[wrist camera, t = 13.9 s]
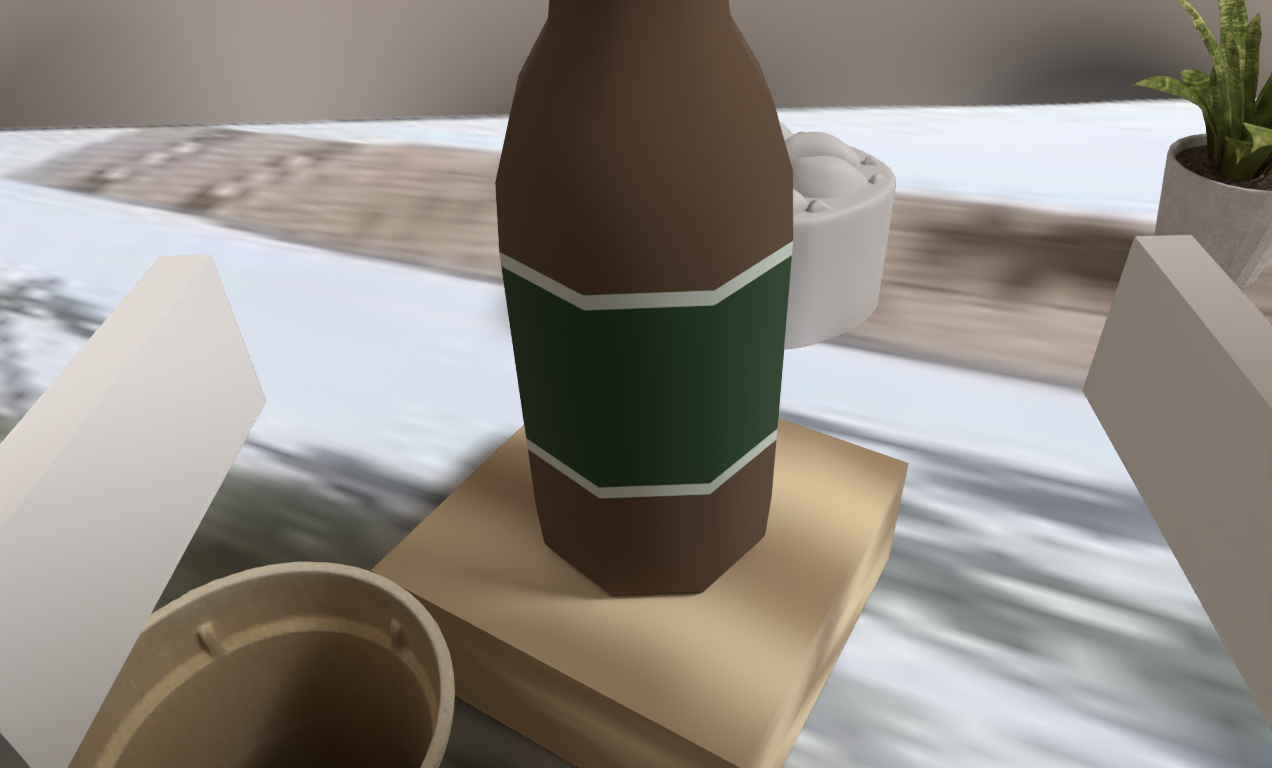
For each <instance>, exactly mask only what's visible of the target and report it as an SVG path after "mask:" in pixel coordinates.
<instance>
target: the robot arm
mask: <svg viewBox="0 0 1272 768" xmlns="http://www.w3.org/2000/svg"><path fill="white" fill-rule="evenodd" d="M1083 393H1084V394H1085V396H1086V398H1087V400H1088V401H1089V403H1090V405H1091V407H1092V409H1093V410H1094V412H1095V414H1096V416H1097V418H1098V419H1099V421H1100V423H1101V425H1102V427H1103V428H1104V430H1105V432H1106V434H1107V435H1108V437H1109V439H1110V441H1111V443H1112V444H1113V446H1114V448H1115V450H1116V452H1117V453H1118V455H1119V457H1120V459H1121V461H1122V462H1123V464H1124V466H1125V468H1126V470H1127V471H1128V473H1129V475H1130V477H1131V478H1132V480H1133V482H1134V484H1135V486H1136V487H1137V489H1138V491H1139V493H1140V495H1141V496H1142V498H1143V500H1144V502H1145V504H1146V505H1147V507H1148V509H1149V511H1150V513H1151V514H1152V516H1153V518H1154V520H1155V521H1156V523H1157V525H1158V527H1159V529H1160V530H1161V532H1162V534H1163V536H1164V538H1165V539H1166V541H1167V543H1168V545H1169V547H1170V548H1171V550H1172V552H1173V554H1174V556H1175V557H1176V559H1177V561H1178V563H1179V564H1180V566H1181V568H1182V570H1183V572H1184V573H1185V575H1186V577H1187V579H1188V581H1189V582H1190V584H1191V586H1192V588H1193V590H1194V591H1195V593H1196V595H1197V597H1198V599H1199V600H1200V602H1201V604H1202V606H1203V607H1204V609H1205V611H1206V613H1207V615H1208V616H1209V618H1210V620H1211V622H1212V624H1213V625H1214V627H1215V629H1216V631H1217V633H1218V634H1219V636H1220V638H1221V640H1222V642H1223V643H1224V645H1225V647H1226V649H1227V650H1228V652H1229V654H1230V656H1231V658H1232V659H1233V661H1234V663H1235V665H1236V667H1237V668H1238V670H1239V672H1240V674H1241V676H1242V677H1243V679H1244V681H1245V683H1246V685H1247V686H1248V688H1249V690H1250V692H1251V693H1252V695H1253V697H1254V699H1255V701H1256V702H1257V704H1258V706H1259V708H1260V710H1261V711H1262V713H1263V715H1264V717H1265V719H1266V720H1267V722H1268V724H1269V726H1270V728H1271V729H1272V324H1271V323H1270V322H1269V321H1268V320H1267V319H1266V318H1265V317H1264V315H1263V314H1262V313H1261V312H1260V311H1259V310H1258V309H1257V308H1256V306H1255V305H1254V304H1253V303H1252V302H1251V301H1250V300H1249V299H1248V298H1247V296H1246V295H1245V294H1244V293H1243V292H1242V291H1241V290H1240V289H1239V287H1238V286H1237V285H1236V284H1235V283H1234V282H1233V281H1232V280H1231V279H1230V277H1229V276H1228V275H1227V274H1226V273H1225V272H1224V271H1223V270H1222V268H1221V267H1220V266H1219V265H1218V264H1217V263H1216V262H1215V261H1214V260H1213V258H1212V257H1211V256H1210V255H1209V254H1208V253H1207V252H1206V251H1205V249H1204V248H1203V247H1202V246H1201V245H1200V244H1199V243H1198V242H1197V241H1196V239H1195V238H1194V237H1193V236H1192V235H1167V236H1135V237H1134V240H1133V243H1132V246H1131V249H1130V252H1129V255H1128V258H1127V261H1126V263H1125V266H1124V269H1123V272H1122V275H1121V278H1120V281H1119V284H1118V287H1117V290H1116V293H1115V296H1114V299H1113V302H1112V305H1111V308H1110V311H1109V314H1108V317H1107V320H1106V323H1105V326H1104V328H1103V331H1102V334H1101V337H1100V340H1099V343H1098V346H1097V349H1096V352H1095V355H1094V358H1093V361H1092V364H1091V367H1090V370H1089V373H1088V376H1087V379H1086V382H1085V385H1084V388H1083ZM265 402H266V398H265V396H264V393H263V391H262V388H261V385H260V383H259V380H258V377H257V375H256V372H255V369H254V367H253V364H252V362H251V359H250V356H249V354H248V351H247V348H246V346H245V343H244V340H243V338H242V335H241V332H240V330H239V327H238V325H237V322H236V319H235V317H234V314H233V311H232V309H231V306H230V303H229V301H228V298H227V296H226V293H225V290H224V288H223V285H222V282H221V280H220V277H219V274H218V272H217V269H216V267H215V264H214V261H213V259H212V256H211V255H186V256H160V257H159V258H158V259H157V260H156V261H155V262H154V264H153V265H152V266H151V267H150V268H149V270H148V271H147V272H146V273H145V274H144V275H143V277H142V278H141V279H140V280H139V281H138V282H137V284H136V285H135V286H134V287H133V288H132V290H131V291H130V292H129V293H128V294H127V295H126V297H125V298H124V299H123V300H122V301H121V303H120V304H119V305H118V306H117V307H116V308H115V310H114V311H113V312H112V313H111V314H110V315H109V317H108V318H107V319H106V320H105V321H104V323H103V324H102V325H101V326H100V327H99V328H98V330H97V331H96V332H95V333H94V334H93V336H92V337H91V338H90V339H89V340H88V341H87V343H86V344H85V345H84V346H83V347H82V348H81V350H80V351H79V352H78V353H77V354H76V356H75V357H74V358H73V359H72V360H71V361H70V363H69V364H68V365H67V366H66V367H65V369H64V370H63V371H62V372H61V373H60V374H59V376H58V377H57V378H56V379H55V380H54V381H53V383H52V384H51V385H50V386H49V387H48V389H47V390H46V391H45V392H44V393H43V394H42V396H41V397H40V398H39V399H38V400H37V401H36V403H35V404H34V405H33V406H32V407H31V409H30V410H29V411H28V412H27V413H26V414H25V416H24V417H23V418H22V419H21V420H20V422H19V423H18V424H17V425H16V426H15V427H14V429H13V430H12V431H11V432H10V433H9V434H8V436H7V437H6V438H5V439H4V440H3V442H2V443H1V444H0V768H68V766H69V764H70V762H71V760H72V759H73V757H74V755H75V753H76V751H77V749H78V747H79V746H80V744H81V742H82V740H83V738H84V736H85V735H86V733H87V731H88V729H89V727H90V725H91V724H92V722H93V720H94V718H95V716H96V714H97V712H98V711H99V709H100V707H101V705H102V703H103V701H104V700H105V698H106V696H107V694H108V692H109V690H110V688H111V687H112V685H113V683H114V681H115V679H116V677H117V676H118V674H119V672H120V670H121V668H122V666H123V664H124V663H125V661H126V659H127V657H128V655H129V653H130V652H131V650H132V648H133V646H134V644H135V642H136V640H137V639H138V637H139V635H140V633H141V631H142V629H143V628H144V626H145V624H146V622H147V620H148V618H149V616H150V615H151V613H152V611H153V609H154V607H155V605H156V604H157V602H158V600H159V598H160V596H161V594H162V592H163V591H164V589H165V587H166V585H167V583H168V581H169V580H170V578H171V576H172V574H173V572H174V570H175V568H176V567H177V565H178V563H179V561H180V559H181V557H182V556H183V554H184V552H185V550H186V548H187V546H188V544H189V543H190V541H191V539H192V537H193V535H194V533H195V532H196V530H197V528H198V526H199V524H200V522H201V520H202V519H203V517H204V515H205V513H206V511H207V509H208V508H209V506H210V504H211V502H212V500H213V498H214V496H215V495H216V493H217V491H218V489H219V487H220V485H221V484H222V482H223V480H224V478H225V476H226V474H227V472H228V471H229V469H230V467H231V465H232V463H233V461H234V460H235V458H236V456H237V454H238V452H239V450H240V449H241V447H242V445H243V443H244V441H245V439H246V437H247V436H248V434H249V432H250V430H251V428H252V426H253V425H254V423H255V421H256V419H257V417H258V415H259V413H260V412H261V410H262V408H263V406H264V404H265Z"/></svg>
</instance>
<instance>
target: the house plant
mask: <svg viewBox="0 0 1272 768" xmlns="http://www.w3.org/2000/svg"><path fill="white" fill-rule="evenodd" d="M1179 2H1180V3H1181V5H1182V6H1183V7H1184V8H1185V9H1186V10H1187V11H1188V13H1189V14H1190V15H1191V18H1192V20H1193V22H1194V25H1195V27H1196V29H1197V31H1198V33H1199V35H1200V37H1201V38H1202V40H1203V42H1204V43H1205V45H1206V47H1207V49H1208V51H1209V53H1210V55H1211V57H1212V60H1213V64H1214V67H1213V68H1212V71H1211V75H1210V76H1208V75H1207V74H1206V73H1203V72H1201V71H1198V70H1183V71H1182V72H1181V73H1180V75H1181V77H1182V79H1183V81H1184V82H1185V84H1186V85H1185V84H1183V83H1182V82H1180V81H1178V80H1176V79H1173V78H1171V77H1168V76H1155V77H1149V78H1146V79H1143V80H1141V81H1139V82H1136V83H1135V84H1133V85H1132V86H1134V85H1140V86H1144V87H1148V88H1153V89H1157V90H1161V91H1165V92H1169V93H1171V94H1174V95H1177V96H1180V97H1182V98H1184V99H1186V100H1189V101H1190V102H1192V103H1194V104H1196V105H1198V106H1199V107H1200V108H1201V110H1202V112H1203V117H1204V121H1205V125H1206V134H1199V135H1192V136H1188V137H1185V138H1182V139H1179V140H1178V141H1176V142H1175V143H1173V144H1172V145H1171V146H1170V148H1169V150H1168V154H1167V160H1166V166H1165V172H1164V179H1163V185H1162V191H1161V197H1160V204H1159V210H1158V216H1157V222H1156V229H1155V235H1154V236H1167V235H1192V236H1193V237H1194V238H1195V239H1196V241H1197V242H1198V243H1199V244H1200V245H1201V246H1202V247H1203V248H1204V249H1205V251H1206V252H1207V253H1208V254H1209V255H1210V256H1211V257H1212V258H1213V260H1214V261H1215V262H1216V263H1217V264H1218V265H1219V266H1220V267H1221V268H1222V270H1223V271H1224V272H1225V273H1226V274H1227V275H1228V276H1229V277H1230V279H1231V280H1232V281H1233V282H1234V283H1235V284H1236V285H1237V286H1238V287H1239V289H1240V290H1242V289H1244V288H1246V287H1249V286H1250V285H1251V284H1252V283H1253V282H1255V280H1256V279H1257V277H1258V276H1259V274H1260V273H1261V272H1262V270H1263V269H1264V267H1265V266H1266V264H1267V263H1268V262H1269V260H1270V259H1271V257H1272V74H1271V75H1270V77H1269V79H1268V80H1267V82H1266V84H1265V86H1264V87H1263V89H1262V91H1261V92H1260V94H1259V96H1258V98H1257V100H1256V101H1255V97H1256V90H1257V82H1258V74H1259V46H1260V41H1261V35H1262V33H1261V27H1260V21H1261V18H1260V15H1259V13H1258V14H1257V15H1256V16H1255V17H1254V18H1252V20H1251V22H1250V24H1248V16H1247V11H1246V6H1245V2H1244V0H1218V3H1219V11H1220V20H1221V42H1220V43H1221V44H1220V45H1221V46H1220V49H1219V47H1218V45H1217V43H1216V40H1215V38H1214V36H1213V35H1212V33H1211V31H1210V30H1209V29H1208V27H1207V25H1206V24H1205V22H1204V21H1203V19H1202V18H1201V16H1200V15H1199V13H1198V12H1197V11H1196V10H1195V8H1194V7H1193V6H1192V5H1190V4H1189V3H1188V2H1187V1H1185V0H1179ZM1220 51H1221V52H1220ZM1130 87H1131V86H1130Z"/></svg>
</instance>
